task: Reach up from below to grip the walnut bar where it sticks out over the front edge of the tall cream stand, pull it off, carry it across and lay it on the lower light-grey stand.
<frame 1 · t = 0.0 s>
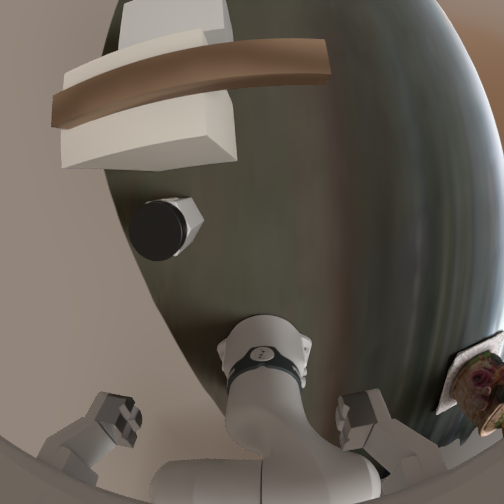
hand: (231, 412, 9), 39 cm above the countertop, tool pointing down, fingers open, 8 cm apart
low stand: (195, 57, 39), on the countertop
cookie jar: (470, 371, 55), on the countertop
bar: (178, 80, 17), point 26 cm above the countertop, touching tall stand
tall stand: (194, 137, 43), on the countertop
jar: (179, 219, 47), on the countertop
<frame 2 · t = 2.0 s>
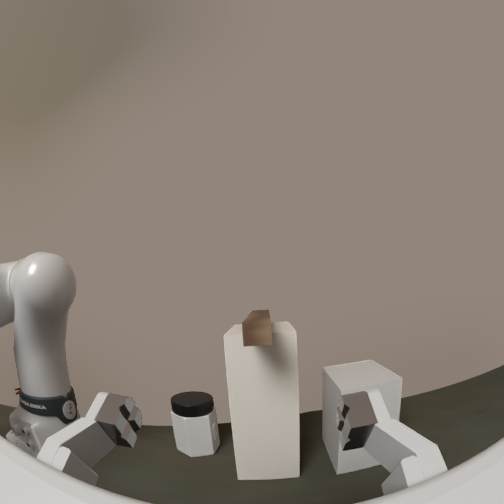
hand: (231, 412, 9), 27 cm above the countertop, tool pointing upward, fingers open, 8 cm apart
low stand: (354, 449, 37), on the countertop
bar: (260, 331, 38), point 26 cm above the countertop, touching tall stand
tall stand: (268, 458, 39), on the countertop
jar: (199, 448, 44), on the countertop
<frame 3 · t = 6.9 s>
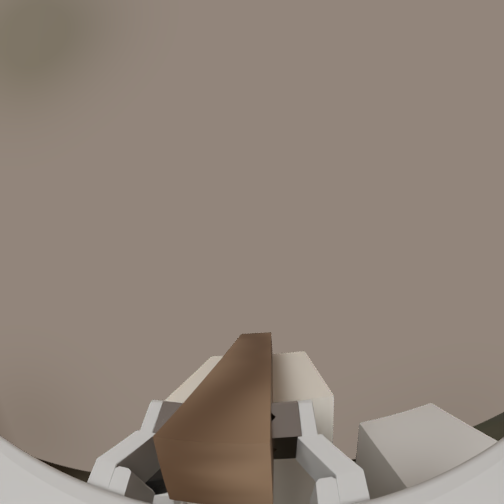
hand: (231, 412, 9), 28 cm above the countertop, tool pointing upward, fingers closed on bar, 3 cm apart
bar: (249, 391, 16), point 26 cm above the countertop, touching gripper
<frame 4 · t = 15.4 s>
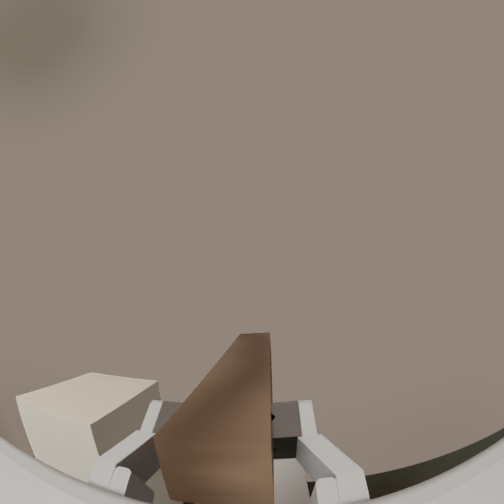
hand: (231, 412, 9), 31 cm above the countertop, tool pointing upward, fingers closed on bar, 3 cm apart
bar: (248, 392, 16), point 29 cm above the countertop, touching gripper
when the fingers open (20 cm above the countertop, at t = 18.1 s): bar drops 2 cm, resting on low stand.
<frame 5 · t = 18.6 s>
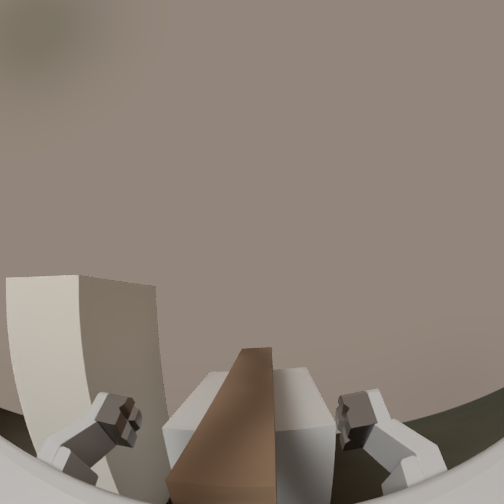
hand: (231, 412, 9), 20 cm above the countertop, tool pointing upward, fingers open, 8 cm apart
bar: (251, 412, 15), point 16 cm above the countertop, touching low stand
tall stand: (126, 497, 18), on the countertop
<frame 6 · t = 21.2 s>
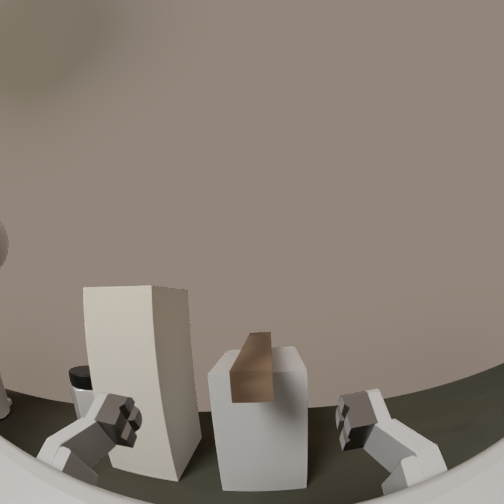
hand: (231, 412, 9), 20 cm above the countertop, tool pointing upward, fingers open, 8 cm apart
low stand: (265, 462, 29), on the countertop
bar: (258, 366, 28), point 16 cm above the countertop, touching low stand
tall stand: (160, 453, 31), on the countertop
jar: (101, 429, 36), on the countertop
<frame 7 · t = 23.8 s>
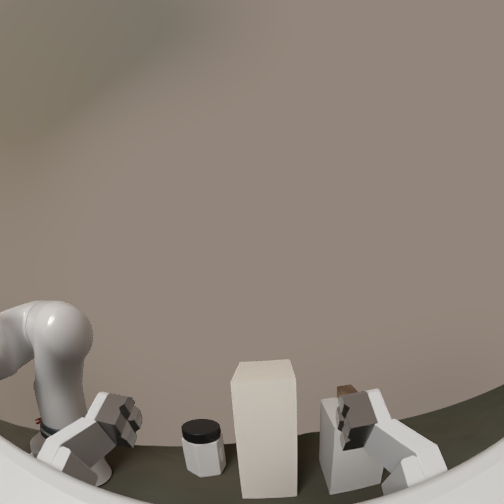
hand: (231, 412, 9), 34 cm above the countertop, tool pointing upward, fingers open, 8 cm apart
low stand: (347, 471, 39), on the countertop
bar: (359, 415, 38), point 16 cm above the countertop, touching low stand
tall stand: (270, 478, 41), on the countertop
jar: (207, 468, 45), on the countertop
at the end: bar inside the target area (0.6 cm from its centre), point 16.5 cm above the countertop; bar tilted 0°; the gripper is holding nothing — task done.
